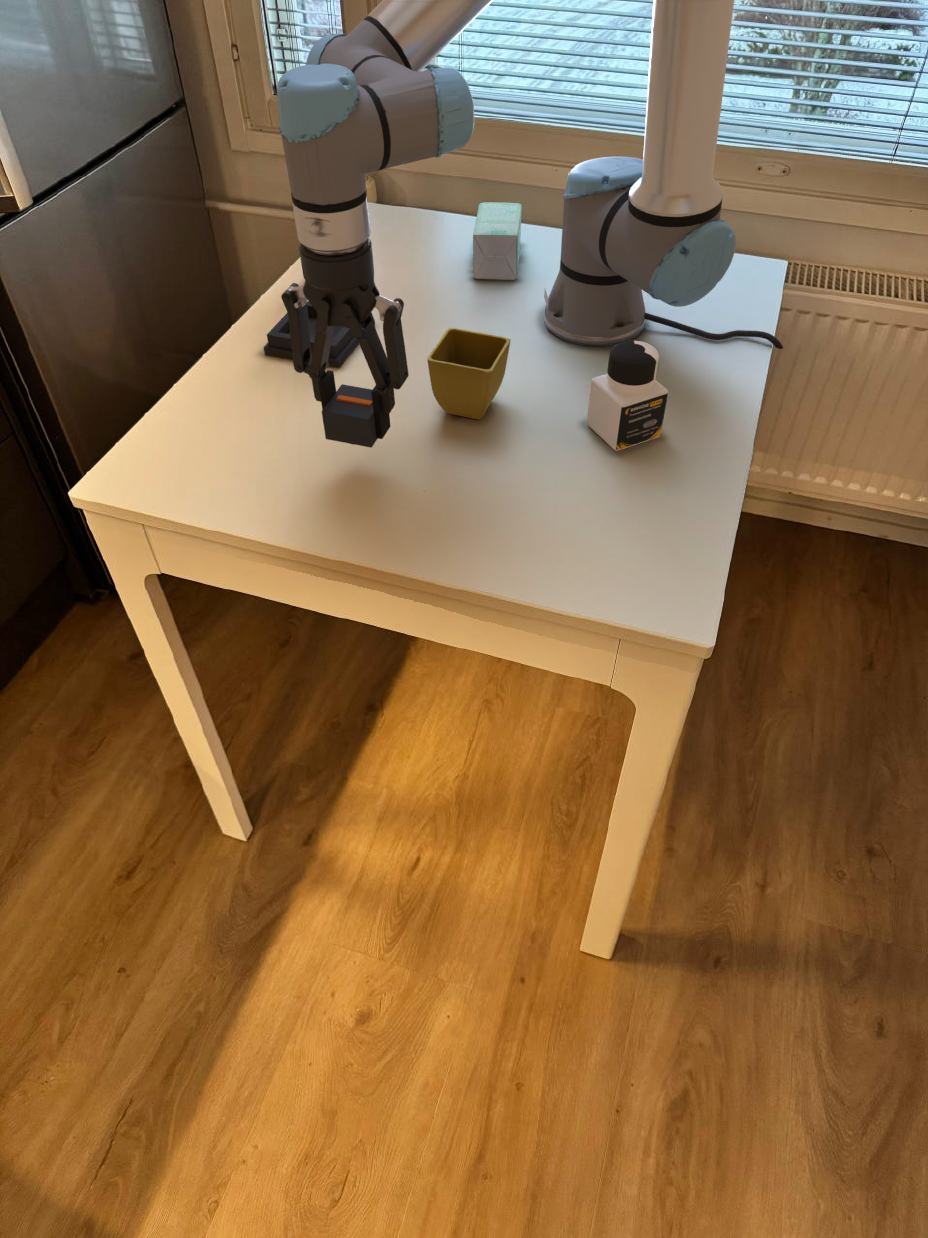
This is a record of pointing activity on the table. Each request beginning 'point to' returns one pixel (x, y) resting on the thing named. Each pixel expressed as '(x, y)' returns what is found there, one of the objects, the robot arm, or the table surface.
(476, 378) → the flower pot
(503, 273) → the box
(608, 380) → the medicine bottle
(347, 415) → the dark grey square block
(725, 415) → the table surface
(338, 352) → the base pad
